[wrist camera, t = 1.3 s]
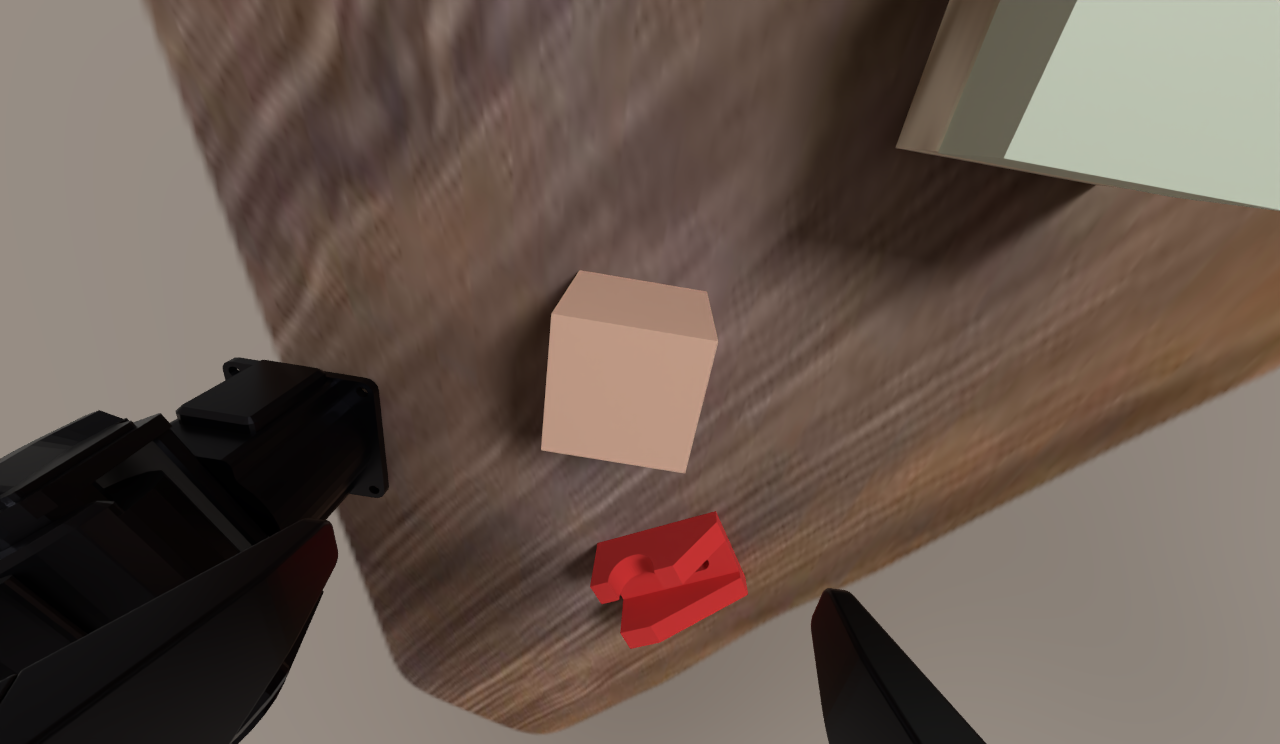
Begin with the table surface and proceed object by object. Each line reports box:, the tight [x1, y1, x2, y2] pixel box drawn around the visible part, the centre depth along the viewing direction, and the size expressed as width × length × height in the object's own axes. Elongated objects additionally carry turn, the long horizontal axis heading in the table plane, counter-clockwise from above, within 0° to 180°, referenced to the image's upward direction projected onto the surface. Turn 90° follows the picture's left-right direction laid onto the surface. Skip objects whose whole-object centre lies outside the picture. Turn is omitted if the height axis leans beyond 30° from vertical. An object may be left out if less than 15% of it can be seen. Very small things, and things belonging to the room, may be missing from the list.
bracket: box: [590, 511, 748, 649], centre depth 24 cm, size 6×5×3 cm
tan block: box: [541, 270, 718, 473], centre depth 18 cm, size 5×5×5 cm
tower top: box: [938, 0, 1280, 211], centre depth 11 cm, size 7×7×3 cm
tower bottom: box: [895, 0, 1127, 189], centre depth 14 cm, size 7×7×3 cm
